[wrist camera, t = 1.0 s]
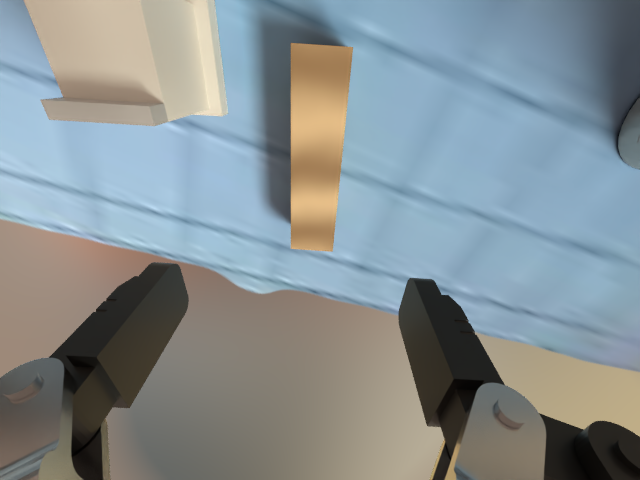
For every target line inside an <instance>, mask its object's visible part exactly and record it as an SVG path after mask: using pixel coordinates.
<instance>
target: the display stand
mask: <svg viewBox="0 0 640 480" xmlns="http://www.w3.org/2000/svg"><path fill="white" fill-rule="evenodd" d="M24 2H25V5H26V7H27V9H28V12H29V14H30V17H31V19H32V22H33V24H34V27H35V29H36V31H37V34H38V36H39V39H40V41H41V44H42V46H43V49H44V51H45V53H46V56H47V58H48V61H49V63H50V66H51V68H52V71H53V73H54V75H55V78H56V80H57V83H58V85H59V88H60V90H61V93H62V95H63V98H53V99H43V100H41V102H42V105H43V107H44V109H45V111H46V113H47V116H48V118H49V120H64V121H81V122H97V123H113V124H130V125H146V126H156V125H160V124H163V123H166V122H169V121H172V120H175V119H179V118H182V117H185V116H188V115H191V114H194V115H210V116H224V115H227V114H228V107H227V99H226V91H225V83H224V74H223V66H222V58H221V50H220V41H219V33H218V25H217V17H216V8H215V0H24Z"/></svg>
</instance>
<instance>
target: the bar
mask: <svg viewBox="0 0 640 480" xmlns="http://www.w3.org/2000/svg"><path fill="white" fill-rule="evenodd" d="M352 52H353V47H343V46H329V45H314V44H299V43H291V249H303V250H318V251H333V242H334V232H335V222H336V212H337V202H338V192H339V182H340V172H341V162H342V152H343V142H344V132H345V122H346V112H347V102H348V92H349V82H350V72H351V62H352Z"/></svg>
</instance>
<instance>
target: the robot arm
mask: <svg viewBox="0 0 640 480" xmlns="http://www.w3.org/2000/svg"><path fill="white" fill-rule="evenodd" d="M618 148H619V152H620V156H621V157H622V159H623V160H624V162H625V163H627V164H628V165H629V166H631V167H633V168H636V169H639V170H640V97H639V99H638V100H637V101H636V103H635V104H634V105H633V107H632V108H631V110H630V111H629V113H628V115H627V117H626V119H625V120H624V122H623V124H622V127H621V131H620V134H619V142H618ZM187 307H188V294H187V290H186V287H185V283H184V280H183V276H182V273H181V269H180V267H179V265H178V264H172V263H155V262H154V263H151V264H150V265H149V266H148V267H147V268H146V269H145V270H144V271H143V272H142V273H141V274H140V275H139V276H135V277H133V278H131V279H130V280H128V281H126V282H125V283H123V284H122V285H120V286H119V287H117V288H116V289H115V291H114V292H113V293H112V294H111V295H110V296H109V297H108V298H107V300H106V301H104V302H103V303H102V304H101V305H100V306H99V307H98V308H97V309H96V312H93V313H92V314H91V315H90V316H89V317H88V318H87V319H86V320H85V321H84V322H83V323H82V324H81V325H80V326H79V328H77V329H76V331H75V332H74V333H73V334H72V335H71V336H70V337H69V338H68V339H67V340H66V341H65V342H64V343H63V344H62V345H61V346H60V347H59V348H58V349H57V350H56V351H55V352H54V353H53V354H52V355H51V356H50V357H49V358H41V359H37V360H34V361H30V362H28V363H25V364H23V365H20V366H18V367H17V368H14V369H13V370H11V371H9V372H8V373H6V374H5V375H3V376H2V377H1V378H0V480H111V478H110V459H109V443H108V425H107V421H106V419H105V418H106V416H107V415H108V413H109V412H110V410H111V409H112V407H118V408H130V406H131V405H132V403H133V401H134V399H135V398H136V396H137V394H138V393H139V391H140V389H141V388H142V386H143V384H144V383H145V381H146V379H147V377H148V376H149V374H150V372H151V371H152V369H153V367H154V366H155V364H156V362H157V360H158V359H159V357H160V355H161V354H162V352H163V350H164V348H165V347H166V345H167V344H168V342H169V340H170V339H171V337H172V335H173V333H174V331H175V330H176V328H177V327H178V325H179V323H180V322H181V320H182V318H183V317H184V315H185V313H186V311H187ZM399 326H400V330H401V334H402V337H403V341H404V344H405V348H406V352H407V355H408V359H409V362H410V365H411V370H412V373H413V377H414V380H415V384H416V388H417V391H418V395H419V398H420V402H421V405H422V409H423V413H424V417H425V420H426V424H427V426H433V427H441V429H442V432H443V435H444V441H443V443H442V445H441V448H440V451H439V454H438V456H437V459H436V462H435V465H434V468H433V471H432V473H431V476H430V480H640V437H639V436H638V435H636V434H635V433H633V432H631V431H630V430H628V429H626V428H624V427H622V426H620V425H617V424H614V423H611V422H607V421H596V422H594V423H592V424H591V425H589V426H588V427H587V428H586V429H584V430H583V429H580V428H577V427H574V426H572V425H569V424H566V423H564V422H561V421H558V420H555V419H553V418H550V417H547V416H545V415H542V414H540V413H538V412H537V410H536V409H535V407H534V406H533V405H532V404H531V403H530V402H529V401H528V400H527V399H526V398H525V397H524V396H522V395H521V394H520V393H518V392H517V391H515V390H514V389H512V388H510V387H508V386H505V385H504V383H503V381H502V380H501V378H500V376H499V374H498V372H497V371H496V369H495V367H494V365H493V363H492V362H491V360H490V358H489V356H488V355H487V353H486V351H485V349H484V347H483V346H482V344H481V342H480V340H479V339H478V337H477V335H475V331H474V329H473V328H472V326H471V324H470V323H468V319H467V317H466V315H465V313H464V312H463V310H462V308H461V307H460V306H459V305H458V304H457V303H456V302H455V301H454V300H453V299H452V298H451V297H450V296H449V295H441V293H440V291H439V289H438V287H437V285H436V283H435V281H434V280H432V279H419V278H410V279H409V280H408V282H407V285H406V288H405V292H404V295H403V298H402V302H401V305H400V309H399Z"/></svg>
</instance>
